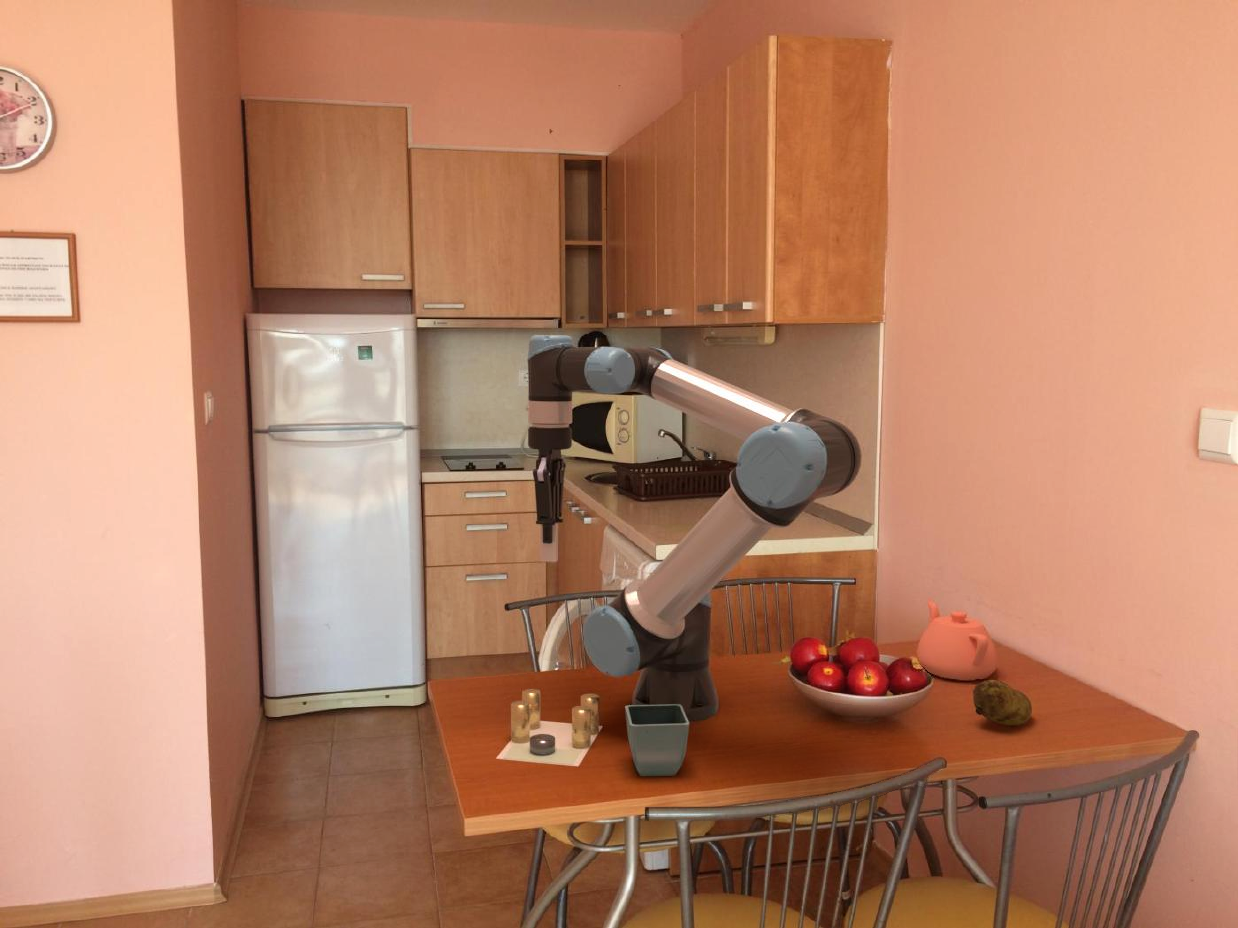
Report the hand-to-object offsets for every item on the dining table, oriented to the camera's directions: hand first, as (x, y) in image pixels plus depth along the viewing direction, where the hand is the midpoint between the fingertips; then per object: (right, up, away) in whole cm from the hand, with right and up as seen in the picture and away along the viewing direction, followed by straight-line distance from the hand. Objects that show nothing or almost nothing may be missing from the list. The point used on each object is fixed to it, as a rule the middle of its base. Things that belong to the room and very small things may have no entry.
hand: (549, 560), depth 179 cm
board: (+1, -28, -14) cm, 32 cm away
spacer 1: (-4, -28, -14) cm, 31 cm away
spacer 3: (+7, -27, -10) cm, 30 cm away
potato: (+78, -28, -2) cm, 83 cm away
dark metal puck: (0, -28, -18) cm, 33 cm away
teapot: (+79, -25, +27) cm, 87 cm away
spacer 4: (+6, -28, -16) cm, 33 cm away
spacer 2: (-3, -27, -8) cm, 28 cm away
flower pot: (+18, -30, -24) cm, 42 cm away
